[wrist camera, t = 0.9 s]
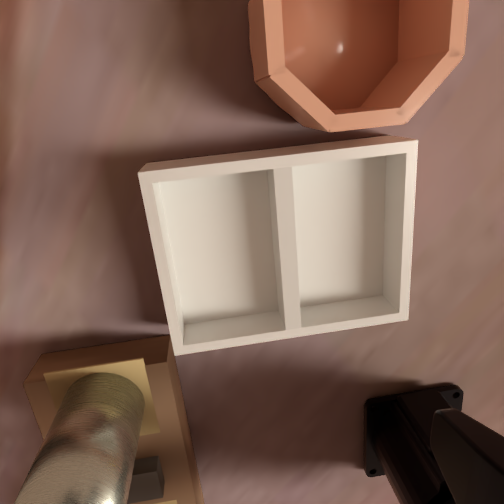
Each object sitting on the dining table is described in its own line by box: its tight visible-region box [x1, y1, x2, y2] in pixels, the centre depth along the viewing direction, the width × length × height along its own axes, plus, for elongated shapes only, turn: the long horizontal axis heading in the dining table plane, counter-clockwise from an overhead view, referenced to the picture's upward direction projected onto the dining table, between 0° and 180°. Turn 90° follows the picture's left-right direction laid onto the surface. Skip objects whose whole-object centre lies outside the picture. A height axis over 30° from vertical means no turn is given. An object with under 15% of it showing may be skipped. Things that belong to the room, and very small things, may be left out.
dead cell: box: [14, 372, 145, 504], centre depth 17 cm, size 4×4×8 cm
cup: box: [248, 0, 469, 132], centre depth 16 cm, size 7×7×5 cm
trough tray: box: [138, 135, 418, 356], centre depth 19 cm, size 9×12×3 cm
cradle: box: [23, 335, 204, 504], centre depth 23 cm, size 15×7×4 cm, turn 6°
